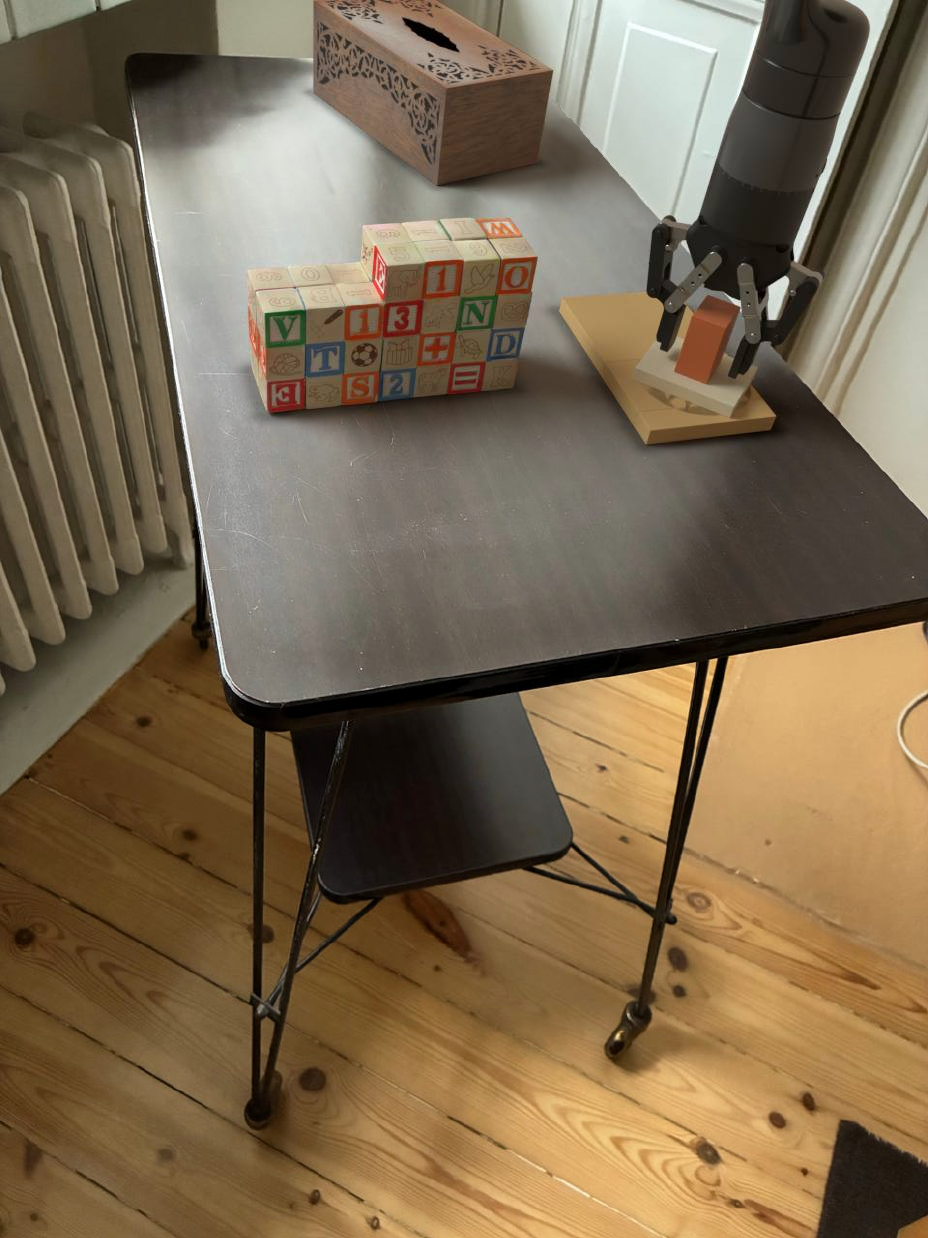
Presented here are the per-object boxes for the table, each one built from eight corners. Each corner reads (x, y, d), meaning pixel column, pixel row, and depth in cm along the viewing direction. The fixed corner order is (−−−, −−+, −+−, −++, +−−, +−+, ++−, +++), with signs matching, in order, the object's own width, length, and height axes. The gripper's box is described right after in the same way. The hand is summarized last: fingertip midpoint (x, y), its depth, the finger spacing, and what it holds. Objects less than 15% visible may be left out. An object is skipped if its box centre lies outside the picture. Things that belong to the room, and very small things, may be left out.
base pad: (771, 430, 85) (778, 415, 84) (645, 444, 81) (650, 430, 80) (672, 302, 97) (676, 289, 96) (558, 311, 93) (561, 297, 92)
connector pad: (748, 390, 88) (780, 311, 82) (724, 430, 83) (756, 349, 77) (655, 354, 90) (680, 274, 84) (627, 391, 86) (651, 309, 80)
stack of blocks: (266, 416, 78) (260, 273, 69) (250, 370, 82) (242, 229, 72) (515, 388, 84) (540, 253, 75) (490, 346, 88) (511, 213, 79)
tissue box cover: (313, 92, 119) (313, -1, 112) (410, 76, 126) (417, -12, 119) (436, 185, 107) (446, 88, 100) (537, 162, 114) (553, 69, 106)
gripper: (660, 149, 71) (607, 350, 84) (852, 214, 68) (767, 413, 80) (693, 117, 76) (639, 312, 88) (875, 176, 72) (791, 370, 85)
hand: (700, 359), depth 84 cm, fingers open, 5 cm apart
